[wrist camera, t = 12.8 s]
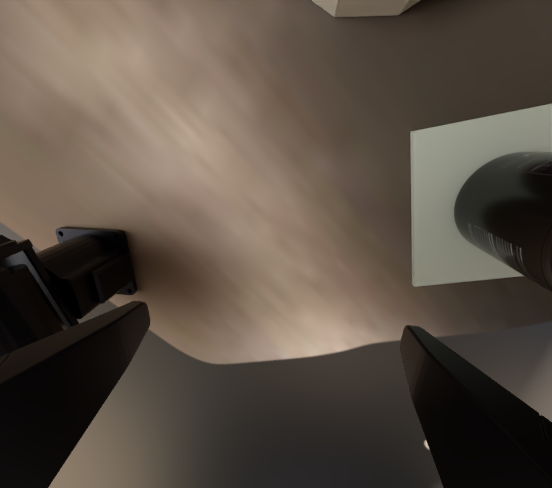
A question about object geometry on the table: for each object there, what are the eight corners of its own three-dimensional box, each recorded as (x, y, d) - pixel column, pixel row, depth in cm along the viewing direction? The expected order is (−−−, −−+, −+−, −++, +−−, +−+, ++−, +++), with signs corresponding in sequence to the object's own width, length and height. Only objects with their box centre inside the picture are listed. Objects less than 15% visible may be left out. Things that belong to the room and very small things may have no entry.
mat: (412, 283, 22) (414, 286, 21) (410, 131, 18) (413, 131, 17) (580, 266, 20) (587, 269, 19) (623, 89, 16) (632, 87, 15)
